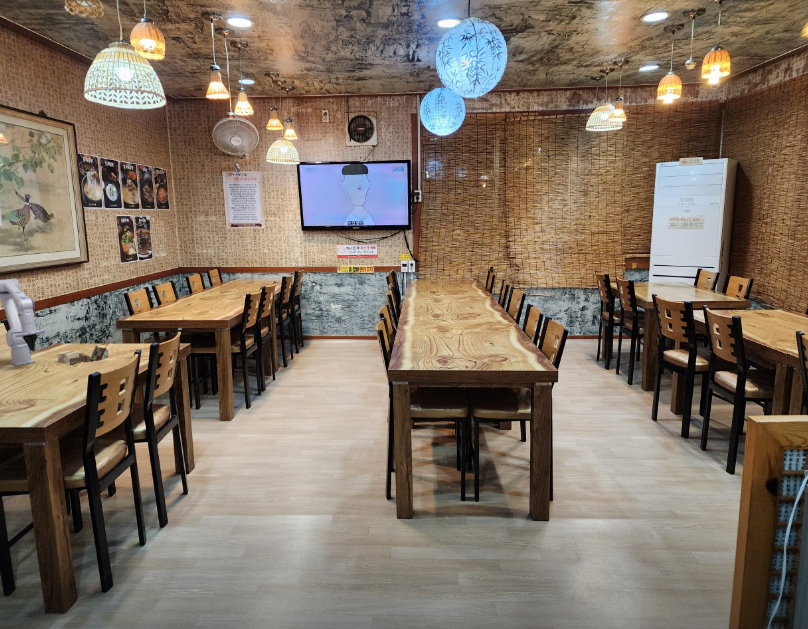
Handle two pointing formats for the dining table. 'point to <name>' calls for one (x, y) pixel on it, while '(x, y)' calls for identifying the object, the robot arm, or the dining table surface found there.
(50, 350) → the dining table surface
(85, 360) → the walnut stop
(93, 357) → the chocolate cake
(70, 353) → the maple block
